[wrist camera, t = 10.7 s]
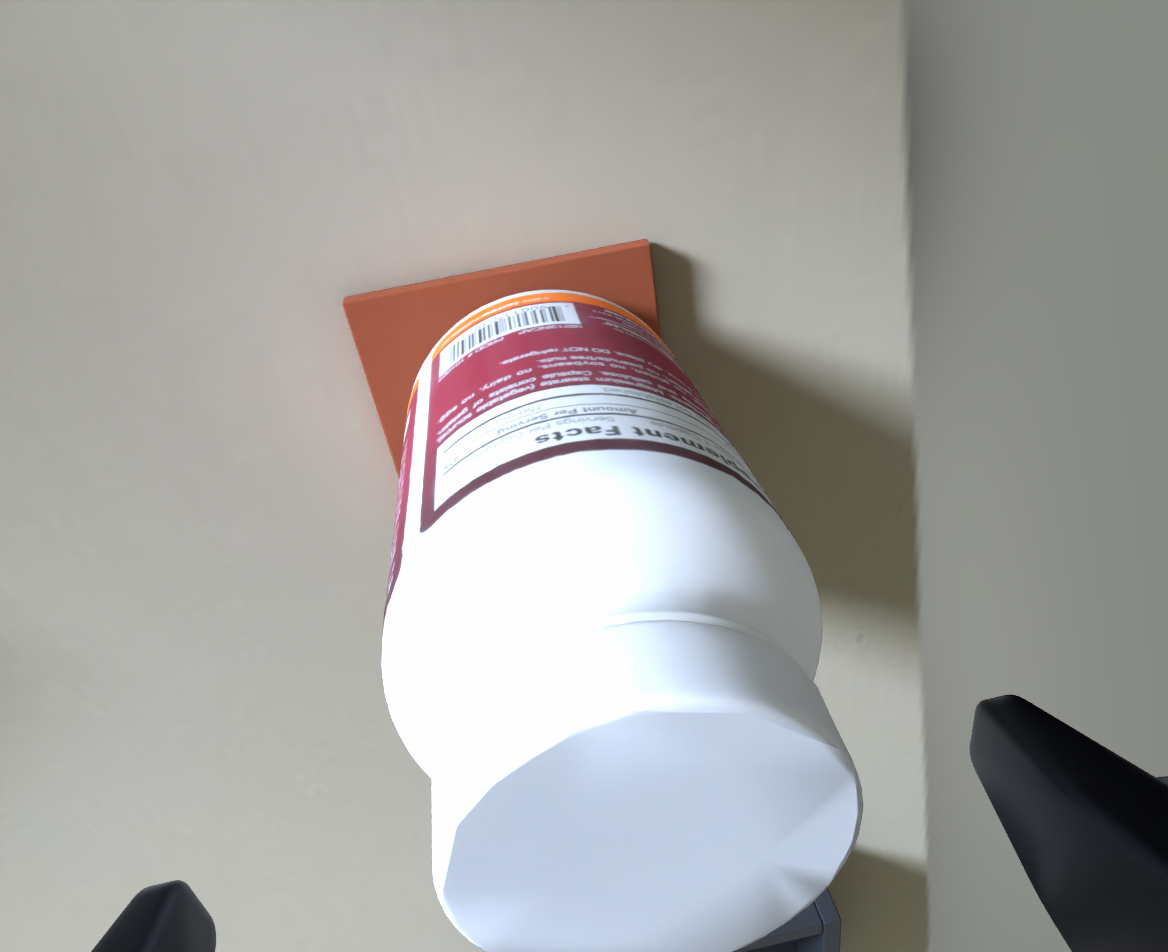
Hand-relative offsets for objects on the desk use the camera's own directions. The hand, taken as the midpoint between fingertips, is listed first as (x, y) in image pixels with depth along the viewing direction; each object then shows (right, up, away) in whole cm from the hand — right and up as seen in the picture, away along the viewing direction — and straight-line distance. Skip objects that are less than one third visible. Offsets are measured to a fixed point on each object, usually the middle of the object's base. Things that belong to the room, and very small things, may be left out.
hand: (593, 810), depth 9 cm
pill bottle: (-1, +5, +9) cm, 11 cm away
